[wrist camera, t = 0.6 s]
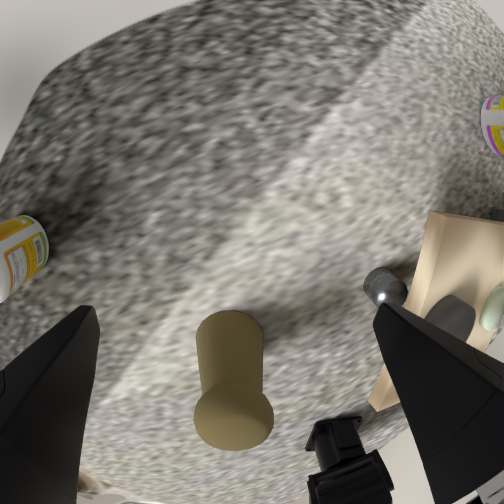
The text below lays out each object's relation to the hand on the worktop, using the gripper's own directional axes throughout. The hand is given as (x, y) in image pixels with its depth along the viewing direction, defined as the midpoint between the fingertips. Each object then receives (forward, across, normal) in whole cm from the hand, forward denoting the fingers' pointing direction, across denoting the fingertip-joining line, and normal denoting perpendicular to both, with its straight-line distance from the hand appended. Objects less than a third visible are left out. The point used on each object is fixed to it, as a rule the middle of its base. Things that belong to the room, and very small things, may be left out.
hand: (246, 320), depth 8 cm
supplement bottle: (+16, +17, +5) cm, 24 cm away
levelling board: (+7, -21, +7) cm, 23 cm away
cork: (+13, -1, +13) cm, 18 cm away
